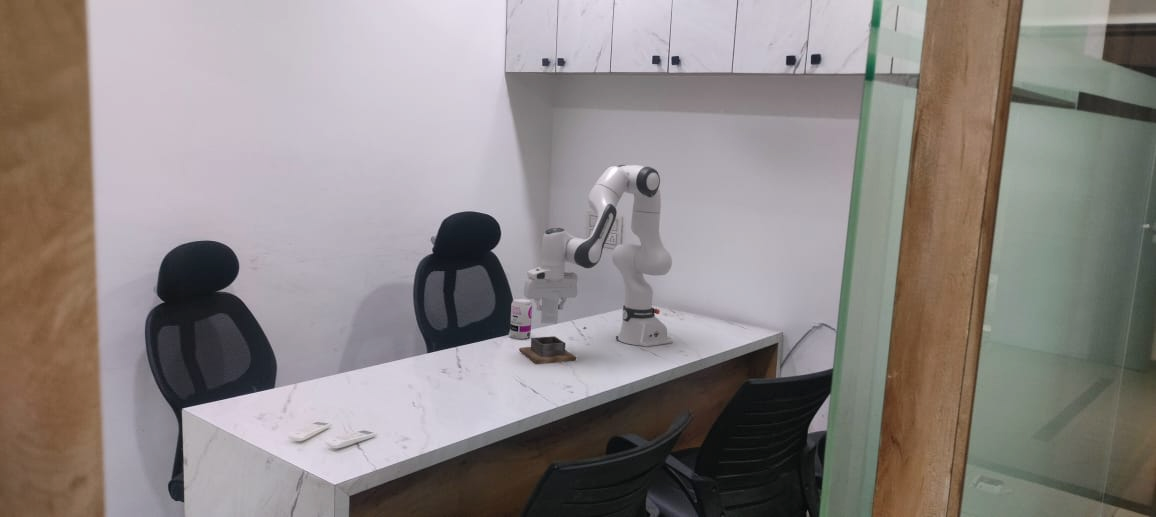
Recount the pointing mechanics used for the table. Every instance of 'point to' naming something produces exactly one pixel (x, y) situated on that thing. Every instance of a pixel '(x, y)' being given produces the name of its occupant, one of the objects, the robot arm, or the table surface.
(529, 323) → the supplement can
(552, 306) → the skincare box
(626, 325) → the robot arm
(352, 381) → the table surface
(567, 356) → the bottle stand
